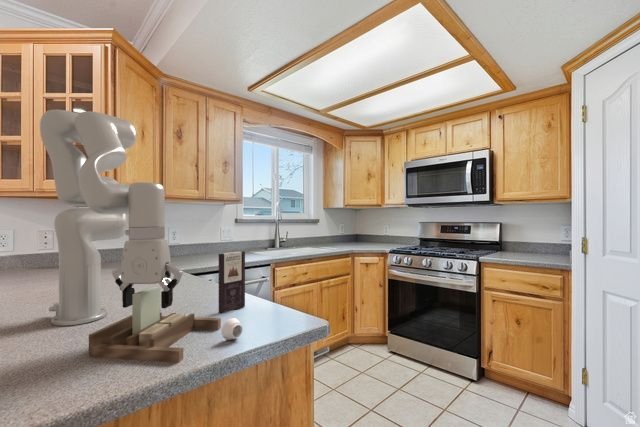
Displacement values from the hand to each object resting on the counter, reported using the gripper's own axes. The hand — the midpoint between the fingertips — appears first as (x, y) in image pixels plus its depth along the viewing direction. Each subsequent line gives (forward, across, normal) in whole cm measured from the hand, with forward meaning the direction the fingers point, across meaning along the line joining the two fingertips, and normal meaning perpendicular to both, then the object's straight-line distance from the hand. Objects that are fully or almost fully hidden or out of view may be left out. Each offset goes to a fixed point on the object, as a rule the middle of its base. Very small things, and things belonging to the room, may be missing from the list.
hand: (147, 306), depth 73 cm
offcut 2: (+8, +4, +4) cm, 10 cm away
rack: (+8, +4, 0) cm, 9 cm away
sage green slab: (+8, 0, 0) cm, 8 cm away
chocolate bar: (+8, +11, +25) cm, 29 cm away
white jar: (+9, +20, +3) cm, 22 cm away
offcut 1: (+8, +4, -3) cm, 10 cm away
